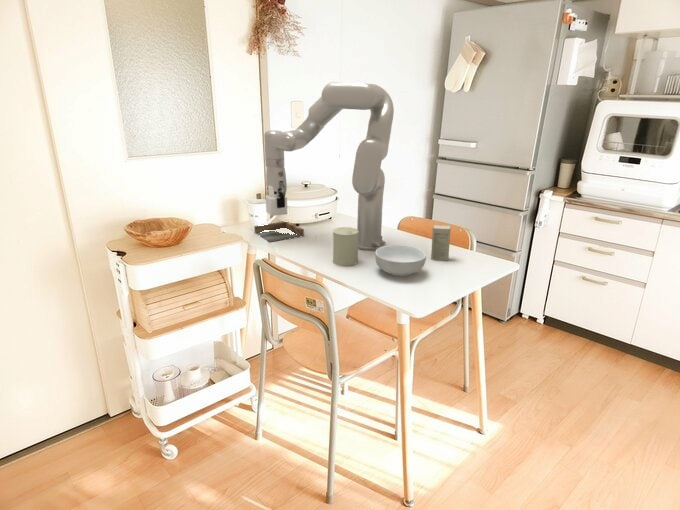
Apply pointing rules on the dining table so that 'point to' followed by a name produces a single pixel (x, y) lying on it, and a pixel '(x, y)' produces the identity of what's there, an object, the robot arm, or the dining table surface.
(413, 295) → the dining table surface
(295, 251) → the dining table surface
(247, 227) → the dining table surface
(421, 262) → the cereal bowl
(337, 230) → the can
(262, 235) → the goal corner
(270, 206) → the medicine bottle
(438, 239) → the skincare box
